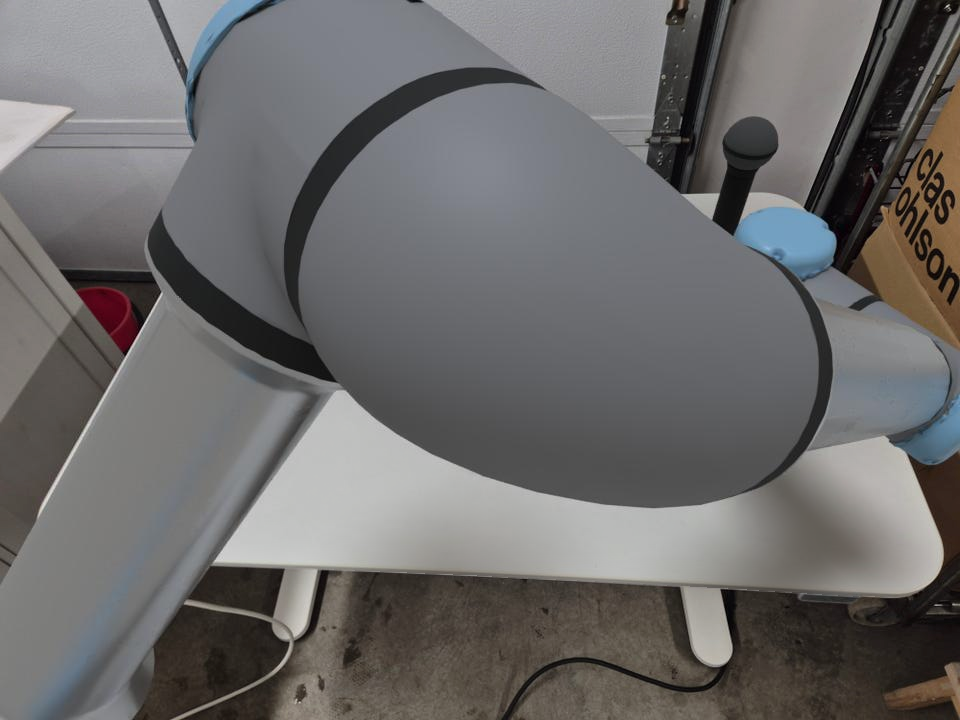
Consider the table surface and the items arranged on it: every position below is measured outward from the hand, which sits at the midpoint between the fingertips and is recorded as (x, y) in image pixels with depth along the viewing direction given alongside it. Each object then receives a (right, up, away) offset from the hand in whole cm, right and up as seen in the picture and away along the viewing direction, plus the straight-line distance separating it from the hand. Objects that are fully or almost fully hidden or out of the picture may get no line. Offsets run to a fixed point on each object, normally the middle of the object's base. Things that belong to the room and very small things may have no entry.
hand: (494, 231), depth 74 cm
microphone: (+33, +1, +16) cm, 37 cm away
